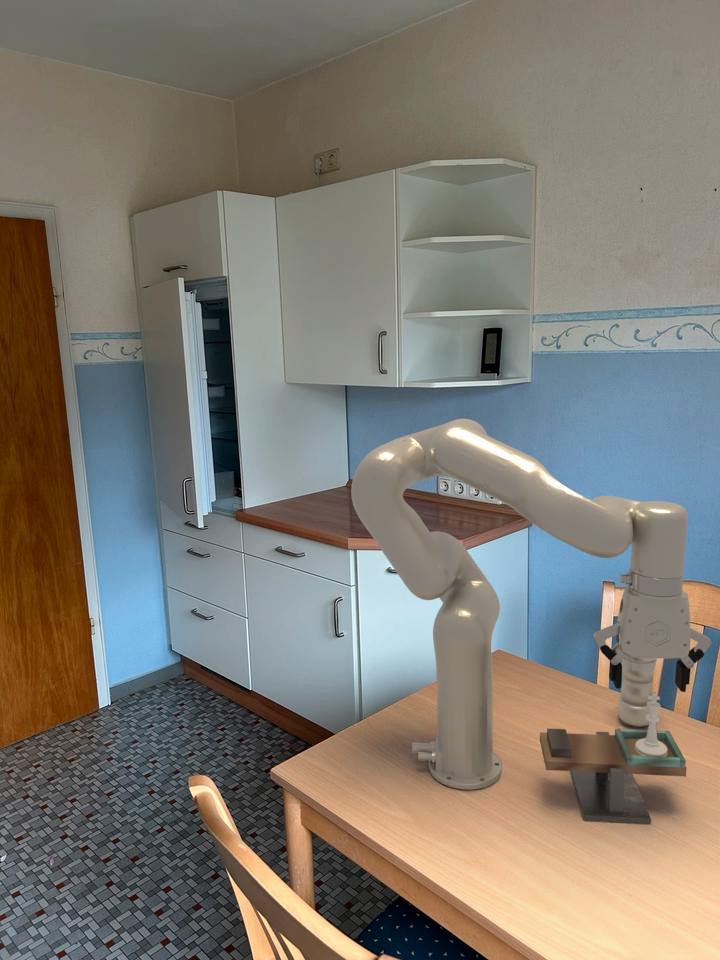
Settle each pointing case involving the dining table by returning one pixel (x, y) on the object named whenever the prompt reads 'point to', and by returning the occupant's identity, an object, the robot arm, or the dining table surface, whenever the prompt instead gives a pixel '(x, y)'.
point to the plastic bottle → (636, 690)
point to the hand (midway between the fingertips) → (648, 686)
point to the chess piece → (651, 732)
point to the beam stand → (609, 796)
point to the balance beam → (609, 753)
